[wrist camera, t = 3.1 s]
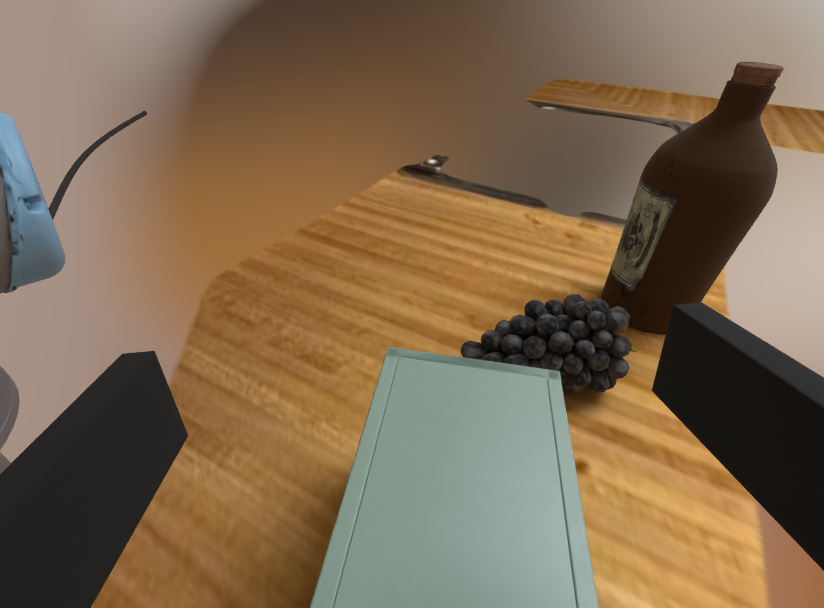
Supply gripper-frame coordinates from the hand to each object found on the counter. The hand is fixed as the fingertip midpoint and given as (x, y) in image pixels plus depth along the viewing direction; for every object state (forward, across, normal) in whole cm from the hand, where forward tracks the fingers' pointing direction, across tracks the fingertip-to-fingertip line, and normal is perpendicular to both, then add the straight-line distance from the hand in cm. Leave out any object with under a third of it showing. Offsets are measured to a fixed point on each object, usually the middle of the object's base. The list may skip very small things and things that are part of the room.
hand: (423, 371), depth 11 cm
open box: (+5, +1, -14) cm, 15 cm away
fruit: (+23, +12, -18) cm, 32 cm away
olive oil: (+32, +28, -17) cm, 46 cm away
